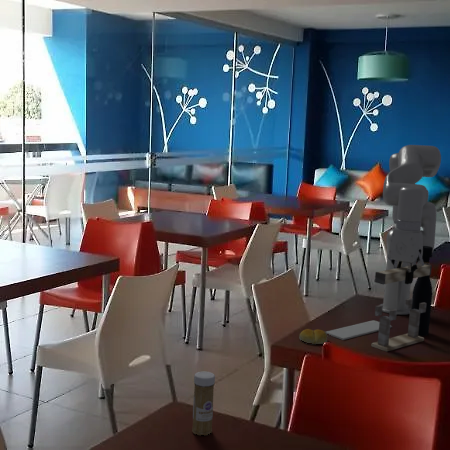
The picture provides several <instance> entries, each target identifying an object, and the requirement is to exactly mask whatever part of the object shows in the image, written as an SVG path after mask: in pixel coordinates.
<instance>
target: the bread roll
mask: <svg viewBox="0 0 450 450" xmlns="http://www.w3.org/2000/svg"><path fill="white" fill-rule="evenodd" d="M325 332H326V331H325V330H322V329H319V328H317V329H314V330H313V329H311V328H306V329H304V330H302V331H301V332H300V333H299V336H298V337H299V340H300V341H301V340H302V341H304V342H307V343H312V344H311V345H316V344H323V343H324V342H327V343H328V338H327V337H328V335H327V334H326V333H325ZM302 341H301V342H302ZM304 342H303V343H304ZM307 343H306V344H307ZM323 345H324V344H323Z"/></svg>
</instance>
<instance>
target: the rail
mask: <svg viewBox="0 0 450 450" xmlns="http://www.w3.org/2000/svg"><path fill="white" fill-rule="evenodd" d="M428 264H429V263H427V264H424V266H422V267H419V268H418V269H416V271H414V275H413V279H416V278H417V279H418V277H422V276H427V275H430V276H431V275H432V267H433V265H432V264H430V265H428ZM406 272H408V267H401V268H396V269H390V270H380V271H375V276H374V283H377V284H380V285H385V284H388V283H393V282H398V281H403V280H405V277H406Z"/></svg>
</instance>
